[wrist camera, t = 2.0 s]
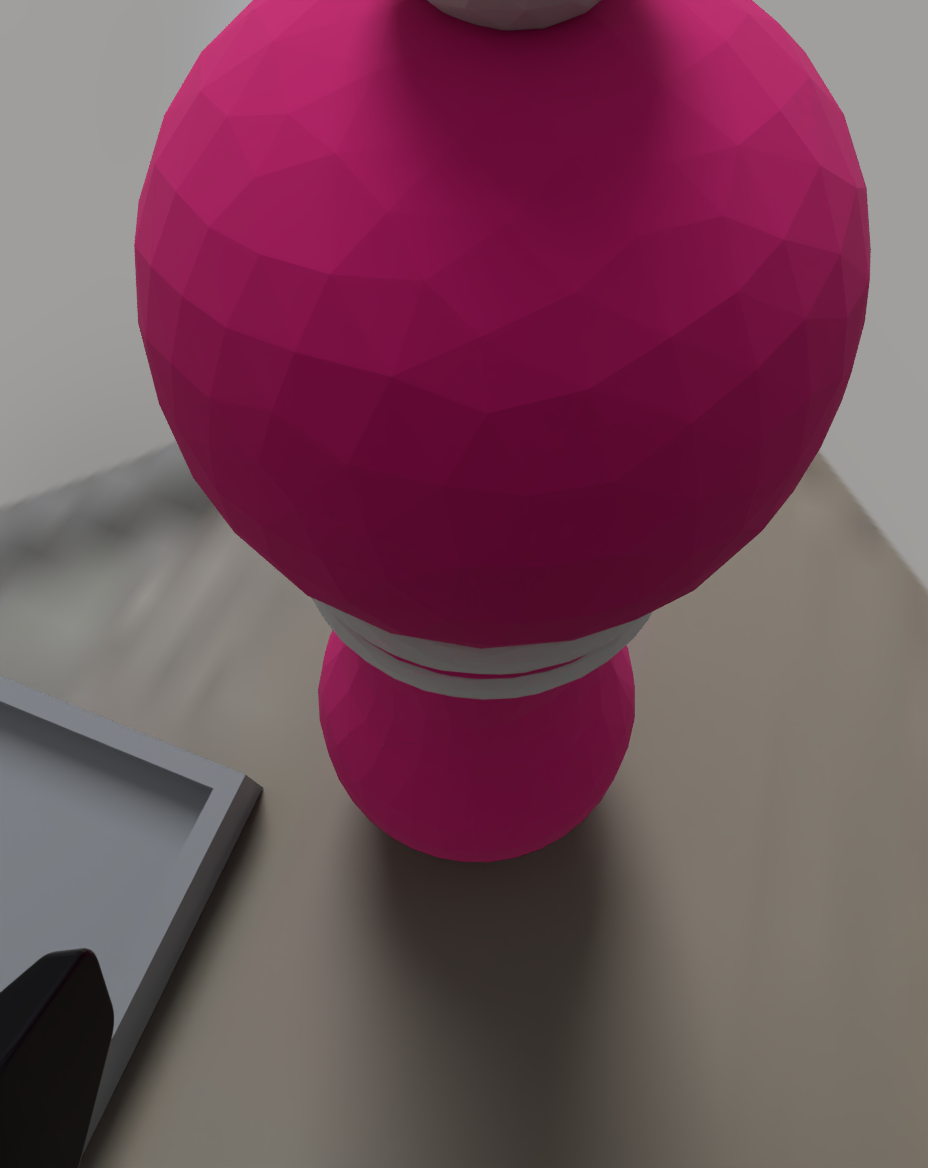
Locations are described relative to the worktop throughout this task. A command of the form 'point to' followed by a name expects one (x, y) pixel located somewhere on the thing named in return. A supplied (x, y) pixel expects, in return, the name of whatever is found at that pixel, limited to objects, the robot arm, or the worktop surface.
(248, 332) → the pink bowling pin
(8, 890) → the slate tray
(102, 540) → the worktop surface
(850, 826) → the worktop surface
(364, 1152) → the worktop surface
